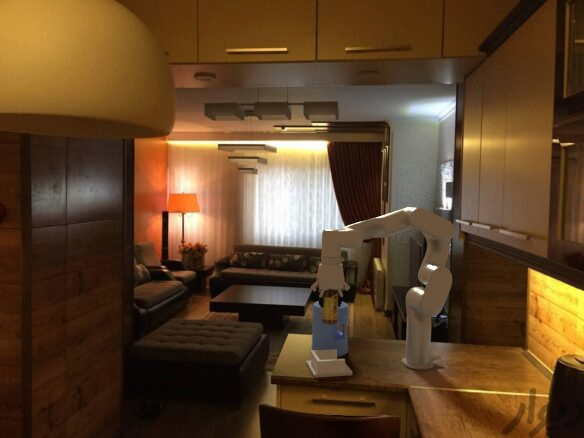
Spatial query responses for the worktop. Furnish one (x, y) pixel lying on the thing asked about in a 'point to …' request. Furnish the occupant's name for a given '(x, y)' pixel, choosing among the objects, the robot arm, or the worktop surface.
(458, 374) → the worktop surface
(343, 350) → the water jug
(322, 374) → the end holder
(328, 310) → the sauce bottle
